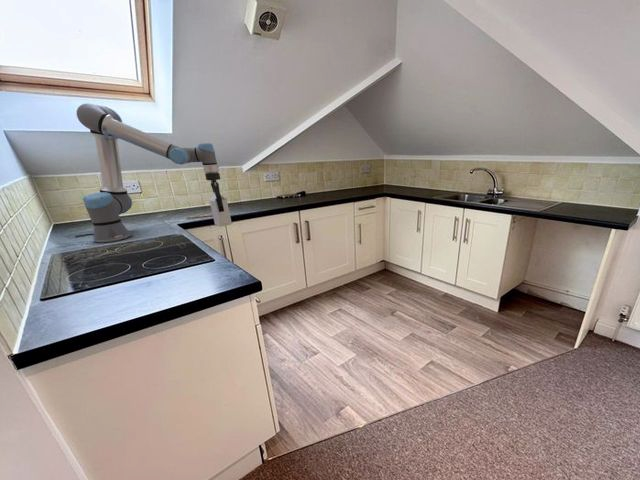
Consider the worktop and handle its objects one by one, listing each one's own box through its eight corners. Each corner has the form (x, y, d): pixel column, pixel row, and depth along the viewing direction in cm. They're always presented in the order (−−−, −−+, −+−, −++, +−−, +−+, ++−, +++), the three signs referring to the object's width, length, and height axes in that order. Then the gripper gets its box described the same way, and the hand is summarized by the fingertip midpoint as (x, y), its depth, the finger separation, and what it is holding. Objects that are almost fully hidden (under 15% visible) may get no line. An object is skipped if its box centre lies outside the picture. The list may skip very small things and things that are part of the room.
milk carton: (221, 226, 178) (213, 194, 170) (215, 225, 182) (207, 193, 174) (232, 224, 183) (225, 192, 175) (226, 222, 187) (219, 191, 179)
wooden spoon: (187, 219, 198) (186, 217, 197) (187, 218, 202) (186, 216, 201) (212, 216, 205) (212, 214, 204) (211, 215, 208) (211, 213, 208)
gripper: (221, 173, 162) (229, 212, 171) (217, 170, 182) (225, 205, 191) (205, 174, 159) (215, 214, 167) (203, 171, 179) (212, 207, 187)
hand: (220, 209), depth 179 cm, fingers open, 13 cm apart
